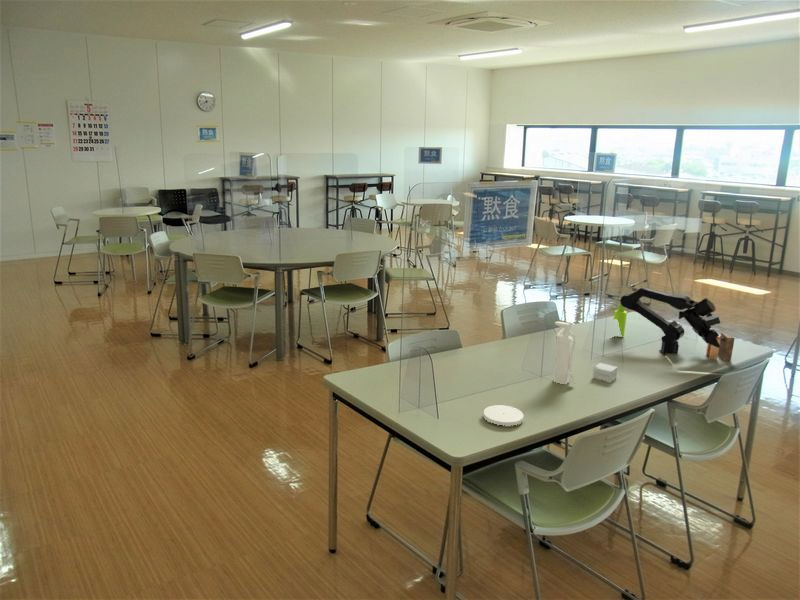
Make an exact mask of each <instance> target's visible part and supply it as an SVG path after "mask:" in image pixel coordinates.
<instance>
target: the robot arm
mask: <svg viewBox="0 0 800 600" xmlns="http://www.w3.org/2000/svg"><path fill="white" fill-rule="evenodd" d="M643 297H644V298H647V299H651V300H654V301H658V302H661V303H664V304H667V305H669V306H671V307H672V308H674V309H675V310H676V309H677V310H678V317H677V318H678V320H681V319H683V318H684V319H685V321H686V322H687V323H688V324H689V325H690V327H691V328H692V330H693V332H694V333H695V334H697V336H699V337H701V339H702V340H703V341H704V342H705V343H706V344H708V343H709V344H711V345H713V346H715V347H717V348H719V347H720V345H719V343H718V341H717V339H716V338H717V337H718V336H720V334H719V333H718V332H717V331H716V330H715V329H711V328H712V326H716V325H720V324H721V320H720V317H719V316H718V315H717V314H715V313H713V312H716V306H715V304H714V302H712V301H711V300H710V299H708V297H705V298H703V299H702V300H700V301H699V302H698V301H695V300H693V299H691V297H690V296H687V295H683V294H670V293H665V292H662V291H660V290H655V289H653V288H652V289H651V288H648V287H645V286H643V287H640V288H639V289H638V290H636V291H635V292H632V293H627V294H625V295H622V296H621V297H620V298H621V299H619V303H620V302H621V305H622V306H623V307H625V309H627V310H631V311H634V312H636V313H638V314H639V315H641V316H642V317H644V318H645V319H646V320H648V321H649V322H651V323H652V324H653V325H655V326H656V327H658V328H659V329H661V330H662V333H663V334H664V335H662V336H661V337H660V338H661V339H660V340H661V345H660V346H661V347H660V349H659V352H660V353H661V354H662V355H663V356H667V354H670V355H673V354H677V353H679V347H680V345H679V340H680V339H681V338H682V337H684V335H685V329H684V327H683V325H682V324H680V323H678V322H677V321H675V320H672V321H668V320H666V319H665V318H663V317H662V316H661V315H659V314H658V313H656V312H655V311H653V310H652V309H651V308H649V307H647V306H646V305H645V304H643V302H642V301H641V300H640V299H642V298H643ZM712 313H713V314H712Z"/></svg>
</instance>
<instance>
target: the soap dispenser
mask: <svg viewBox="0 0 800 600" xmlns="http://www.w3.org/2000/svg"><path fill="white" fill-rule="evenodd" d="M620 299H621V297H618V300H620ZM625 309H626V307H623V306H622V305H621V302H620V301H619V303H618V304H617V309H615V310H614V311H613V312H614V314H613V320H614V319H617V320H618V322H619V327H620V331H621V335H622V337H623V336H624V337H625V331H626V323H627V322H626V321H627V315H628V314H627V313H628V311H626V310H625ZM624 337H623V338H624Z"/></svg>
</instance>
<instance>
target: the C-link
mask: <svg viewBox="0 0 800 600" xmlns="http://www.w3.org/2000/svg"><path fill="white" fill-rule="evenodd" d="M716 339H717V341H718V343H719V345H720V339H721V335H719V336H718V337H717V338H716ZM706 344H707V343H706ZM718 351H719V348H717V347H715V346H713V345H711V344H709V343H708V344H707V346H706V352H705V356H707V357H709V358H708V359H709V360H715V361H716V360H718V357H719V356H718Z"/></svg>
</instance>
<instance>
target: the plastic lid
mask: <svg viewBox="0 0 800 600" xmlns="http://www.w3.org/2000/svg"><path fill="white" fill-rule="evenodd" d="M482 414H483V418H484V420H485V421H486V420H487V421H486V422H488V423H490V422H491V423H490V424H492V423H494V424H497V425H496V426H499V425H503V426H502V427H514V426H513V425H516V426H518V425H520V424H522V423H523V422H524V419H525V415H524V413H523V411H521V410H520V409H518V408H515V407H514V406H511V405H510V406H509V405H501V404H497V405H490V406H487V407H486V408H484V410H483V413H482ZM521 422H522V423H521ZM519 423H520V424H519ZM494 424H493V425H494ZM517 424H518V425H517ZM504 425H505V426H504ZM511 425H512V426H511Z"/></svg>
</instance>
